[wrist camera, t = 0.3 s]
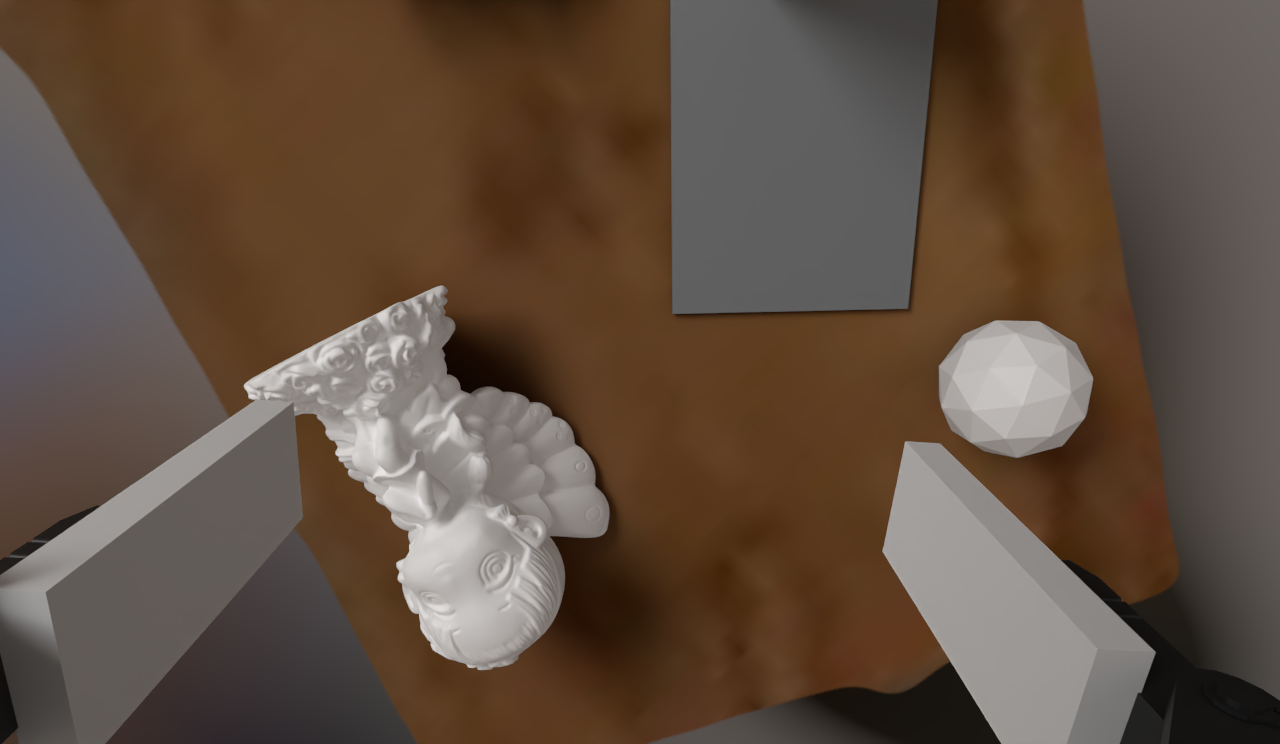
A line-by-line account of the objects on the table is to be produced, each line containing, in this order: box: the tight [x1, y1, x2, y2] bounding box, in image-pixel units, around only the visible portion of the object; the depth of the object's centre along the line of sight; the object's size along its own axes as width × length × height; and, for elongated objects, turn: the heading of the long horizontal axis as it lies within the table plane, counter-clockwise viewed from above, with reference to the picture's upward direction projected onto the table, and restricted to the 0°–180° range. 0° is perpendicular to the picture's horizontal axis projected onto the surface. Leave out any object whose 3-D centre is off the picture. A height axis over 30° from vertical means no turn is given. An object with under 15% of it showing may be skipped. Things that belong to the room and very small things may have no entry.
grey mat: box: [670, 0, 938, 314], centre depth 38 cm, size 24×14×1 cm, turn 1°
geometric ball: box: [939, 320, 1093, 458], centre depth 40 cm, size 8×8×8 cm
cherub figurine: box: [244, 286, 610, 670], centre depth 39 cm, size 13×12×20 cm
